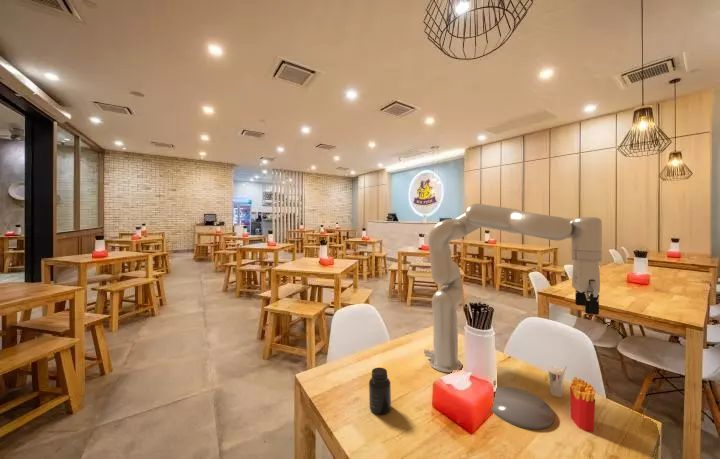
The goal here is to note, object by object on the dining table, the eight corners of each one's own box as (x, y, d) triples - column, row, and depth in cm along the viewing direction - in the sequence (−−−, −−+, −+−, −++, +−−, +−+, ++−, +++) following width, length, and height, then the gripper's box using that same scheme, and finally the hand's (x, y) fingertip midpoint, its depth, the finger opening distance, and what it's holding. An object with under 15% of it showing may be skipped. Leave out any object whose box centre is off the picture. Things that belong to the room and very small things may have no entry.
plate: (483, 414, 85) (483, 409, 85) (491, 385, 100) (491, 381, 100) (555, 438, 75) (555, 433, 75) (552, 402, 90) (552, 398, 90)
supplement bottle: (379, 398, 93) (378, 363, 93) (395, 408, 88) (395, 370, 88) (364, 408, 88) (364, 371, 88) (381, 419, 83) (380, 379, 83)
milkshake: (570, 399, 92) (570, 369, 91) (551, 397, 93) (552, 368, 93) (562, 391, 96) (563, 363, 96) (545, 389, 97) (545, 361, 97)
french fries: (566, 413, 85) (567, 374, 85) (581, 414, 84) (581, 375, 84) (583, 434, 77) (584, 391, 77) (600, 435, 76) (600, 392, 76)
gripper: (564, 253, 98) (565, 301, 98) (580, 258, 82) (580, 316, 83) (591, 253, 95) (591, 303, 95) (613, 259, 79) (613, 319, 80)
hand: (586, 309), depth 89 cm, fingers open, 9 cm apart
